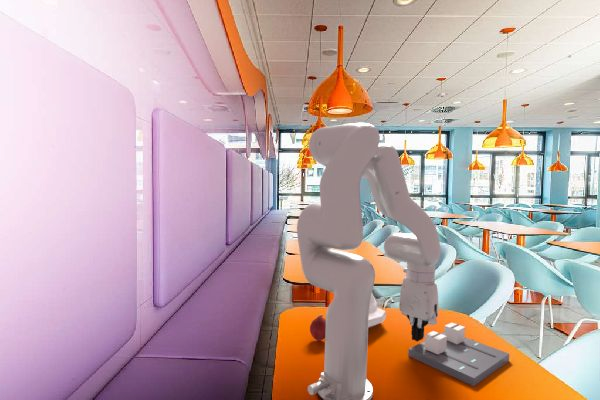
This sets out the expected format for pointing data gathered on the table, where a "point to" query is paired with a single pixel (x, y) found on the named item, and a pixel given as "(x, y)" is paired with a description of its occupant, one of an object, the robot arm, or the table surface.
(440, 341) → the fader
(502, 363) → the console
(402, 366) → the table surface
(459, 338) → the fader
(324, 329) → the onion
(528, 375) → the table surface
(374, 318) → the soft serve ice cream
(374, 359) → the table surface
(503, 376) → the table surface
